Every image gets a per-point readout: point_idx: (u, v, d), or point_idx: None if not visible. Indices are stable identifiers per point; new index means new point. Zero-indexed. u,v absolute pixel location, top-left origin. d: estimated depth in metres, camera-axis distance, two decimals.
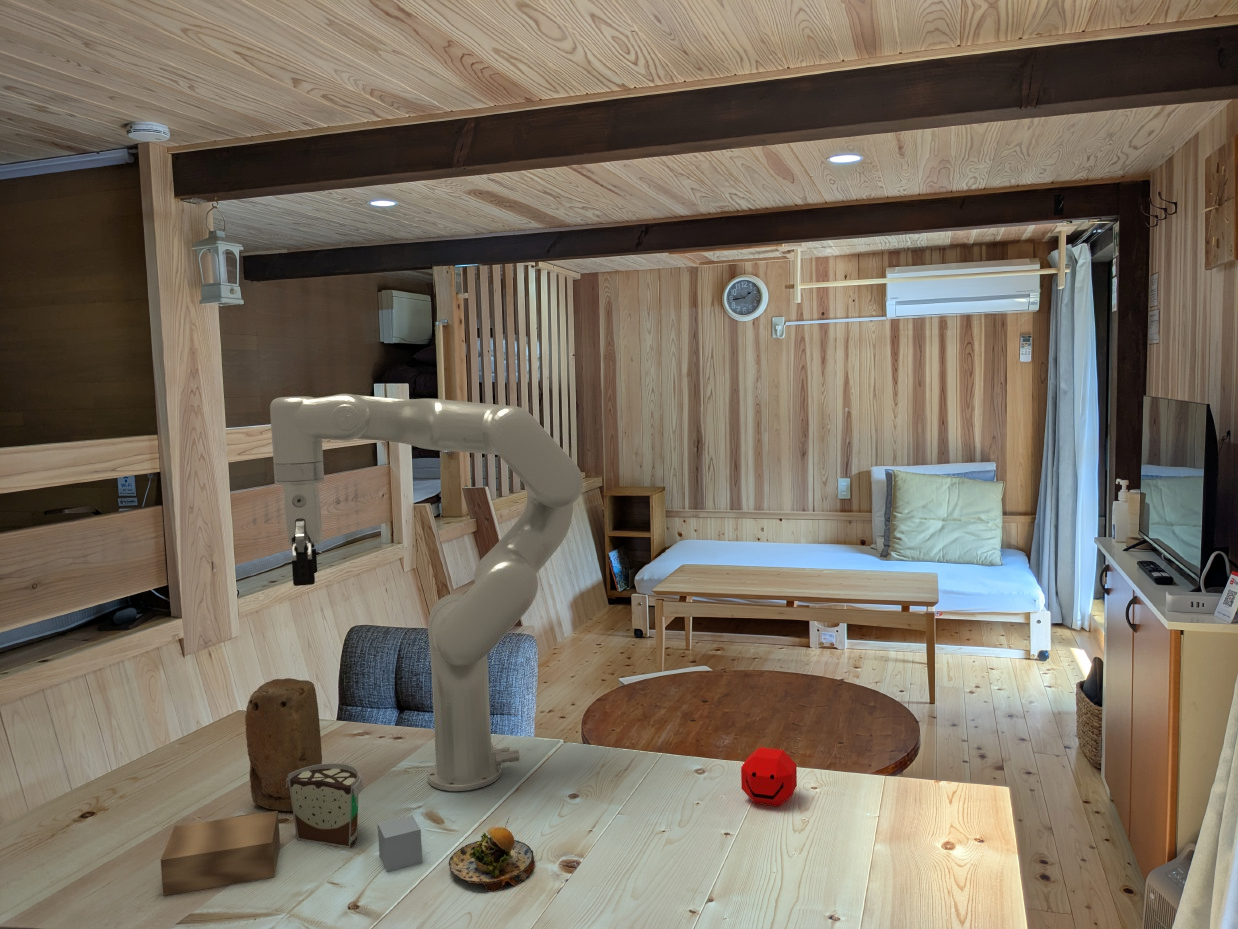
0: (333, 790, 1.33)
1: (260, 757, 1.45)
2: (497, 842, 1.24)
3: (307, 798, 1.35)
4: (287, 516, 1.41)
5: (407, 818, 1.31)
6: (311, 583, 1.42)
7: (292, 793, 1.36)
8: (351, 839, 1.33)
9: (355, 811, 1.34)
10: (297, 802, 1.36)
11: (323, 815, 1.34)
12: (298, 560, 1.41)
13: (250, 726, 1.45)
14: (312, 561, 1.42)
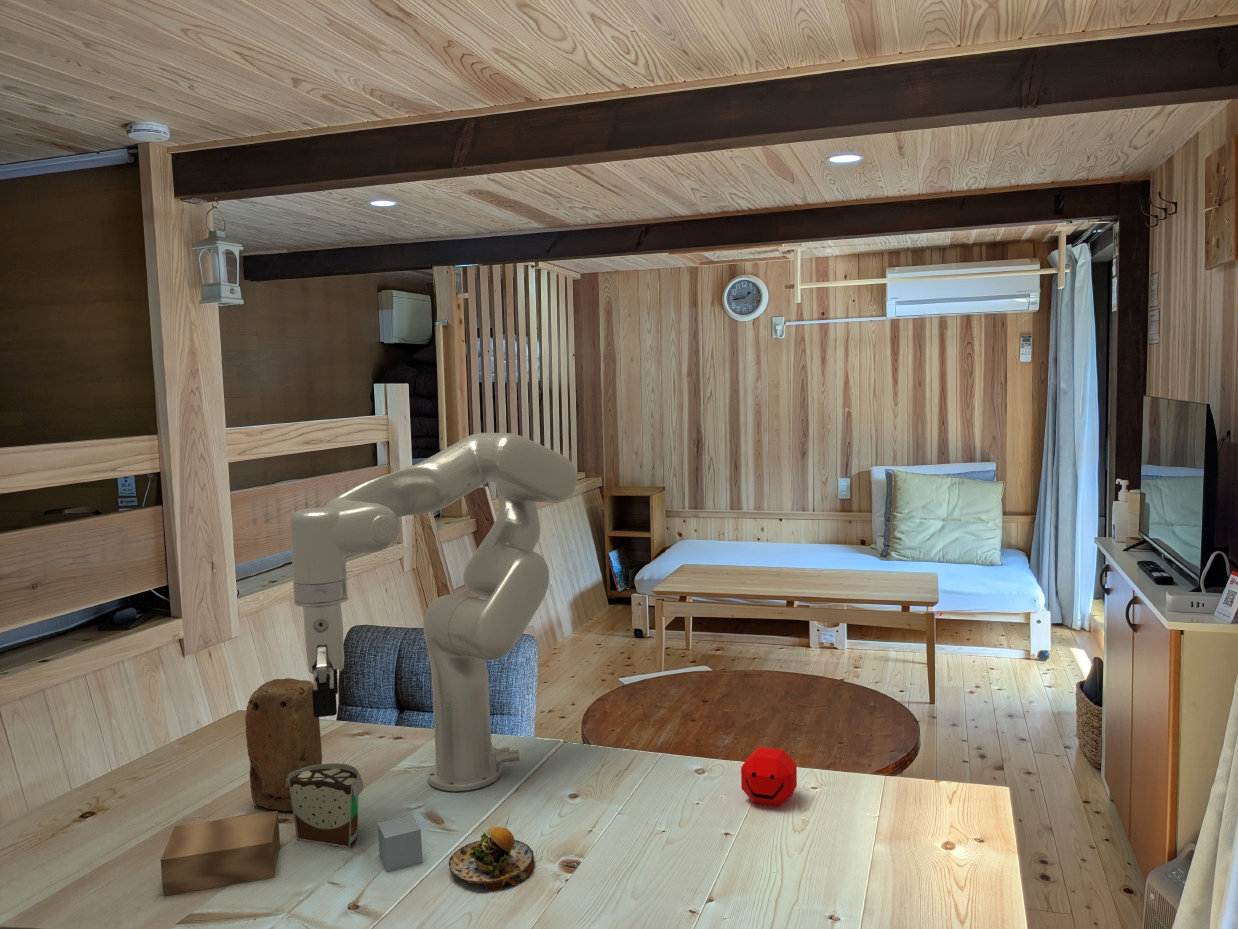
0: (333, 790, 1.33)
1: (260, 757, 1.45)
2: (497, 842, 1.24)
3: (307, 798, 1.35)
4: (308, 642, 1.30)
5: (408, 818, 1.31)
6: (333, 714, 1.31)
7: (292, 793, 1.36)
8: (351, 839, 1.33)
9: (355, 811, 1.34)
10: (297, 802, 1.36)
11: (323, 815, 1.34)
12: (319, 690, 1.29)
13: (250, 726, 1.45)
14: (334, 690, 1.31)
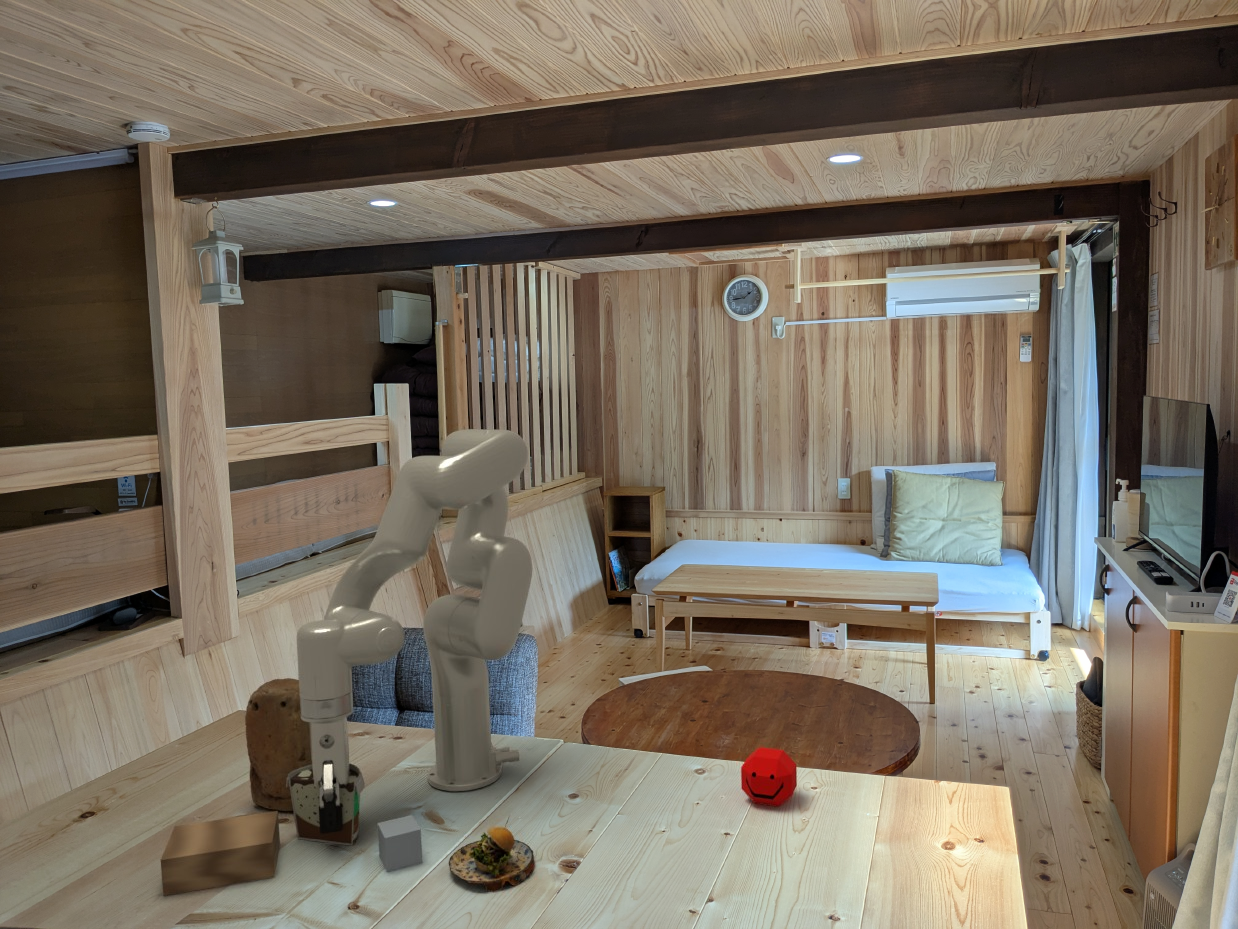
0: (335, 788, 1.34)
1: (260, 757, 1.45)
2: (497, 842, 1.24)
3: (308, 796, 1.35)
4: (314, 758, 1.31)
5: (407, 818, 1.31)
6: (339, 830, 1.33)
7: (292, 792, 1.36)
8: (354, 836, 1.34)
9: (357, 809, 1.34)
10: (298, 801, 1.36)
11: None
12: (326, 808, 1.32)
13: (250, 726, 1.45)
14: (340, 806, 1.33)
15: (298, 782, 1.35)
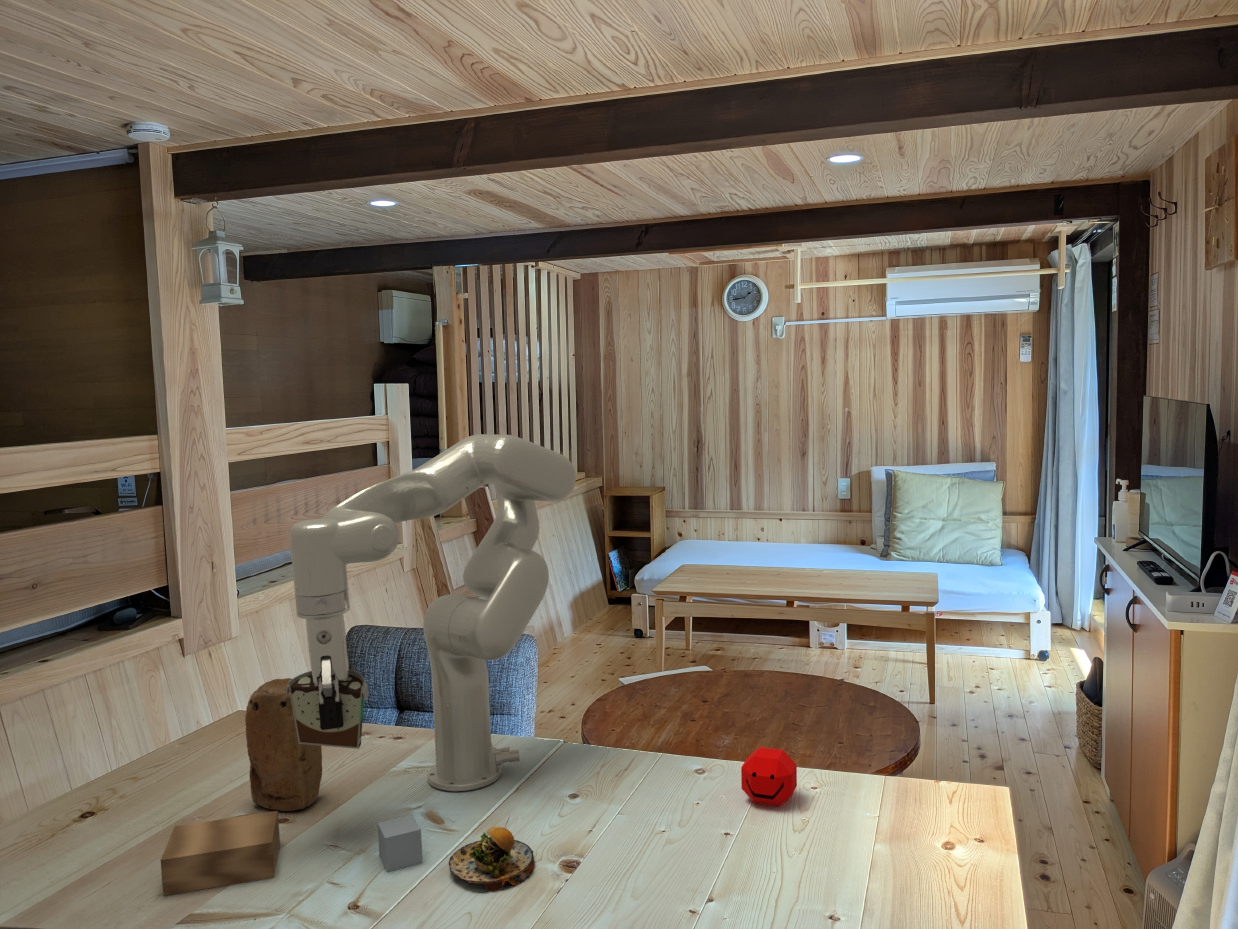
0: (340, 694, 1.33)
1: (260, 757, 1.45)
2: (497, 842, 1.24)
3: (311, 703, 1.34)
4: (311, 654, 1.30)
5: (408, 818, 1.31)
6: (339, 726, 1.33)
7: (293, 699, 1.34)
8: (359, 739, 1.35)
9: (362, 713, 1.35)
10: (299, 708, 1.35)
11: None
12: (325, 704, 1.31)
13: (250, 726, 1.45)
14: (340, 703, 1.33)
15: (299, 689, 1.34)
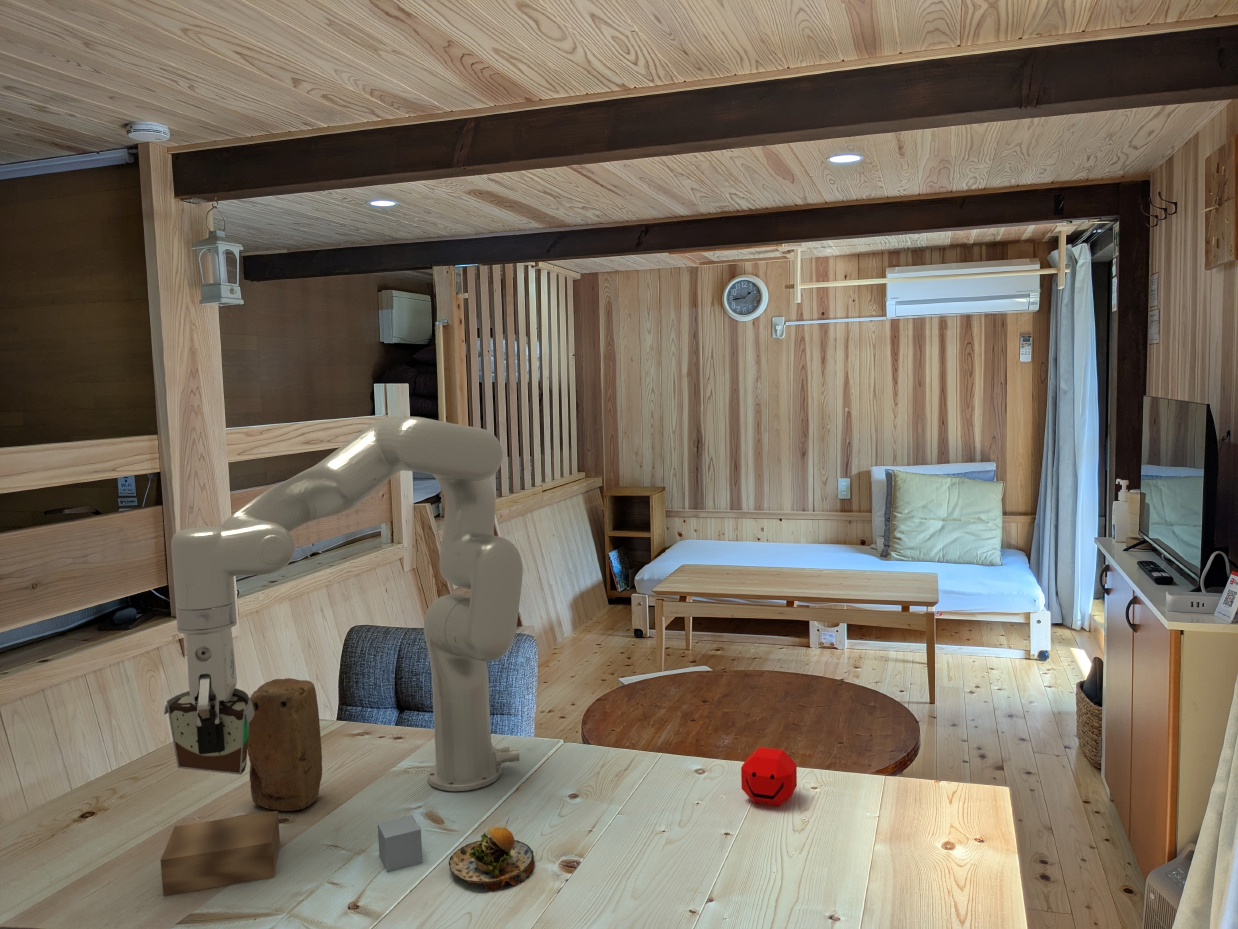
0: (221, 715, 1.24)
1: (260, 757, 1.45)
2: (497, 842, 1.24)
3: (191, 724, 1.25)
4: (189, 672, 1.21)
5: (408, 818, 1.31)
6: (220, 750, 1.24)
7: (172, 720, 1.25)
8: (243, 765, 1.25)
9: (246, 736, 1.25)
10: (178, 729, 1.25)
11: None
12: (204, 726, 1.22)
13: (250, 726, 1.45)
14: (221, 725, 1.23)
15: (178, 709, 1.25)
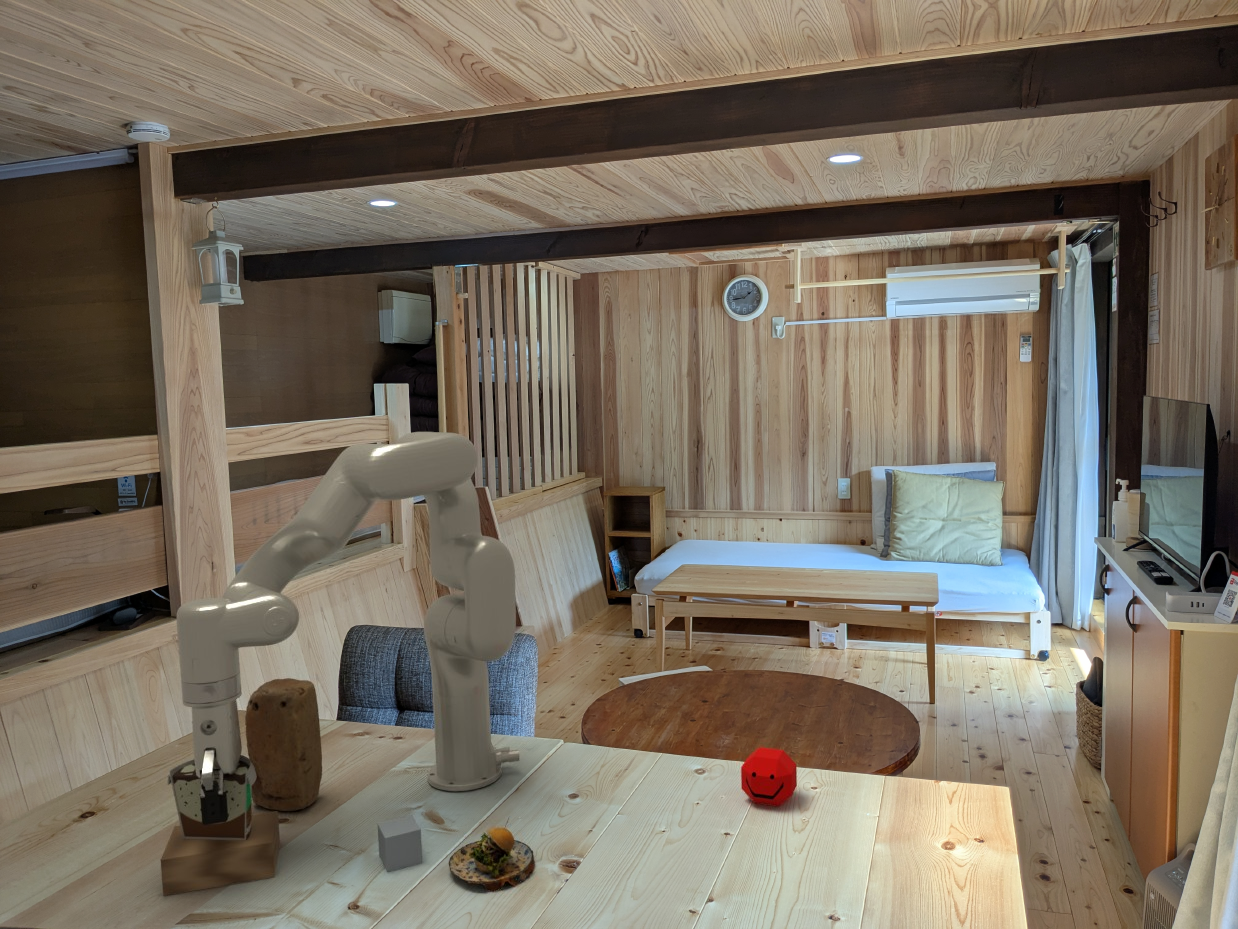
0: (224, 781, 1.25)
1: (260, 757, 1.45)
2: (497, 842, 1.24)
3: (194, 793, 1.26)
4: (195, 745, 1.22)
5: (407, 818, 1.31)
6: (223, 820, 1.23)
7: (175, 790, 1.26)
8: (247, 830, 1.26)
9: (250, 801, 1.27)
10: (182, 799, 1.26)
11: None
12: (207, 797, 1.22)
13: (250, 726, 1.45)
14: (224, 795, 1.23)
15: (181, 778, 1.26)
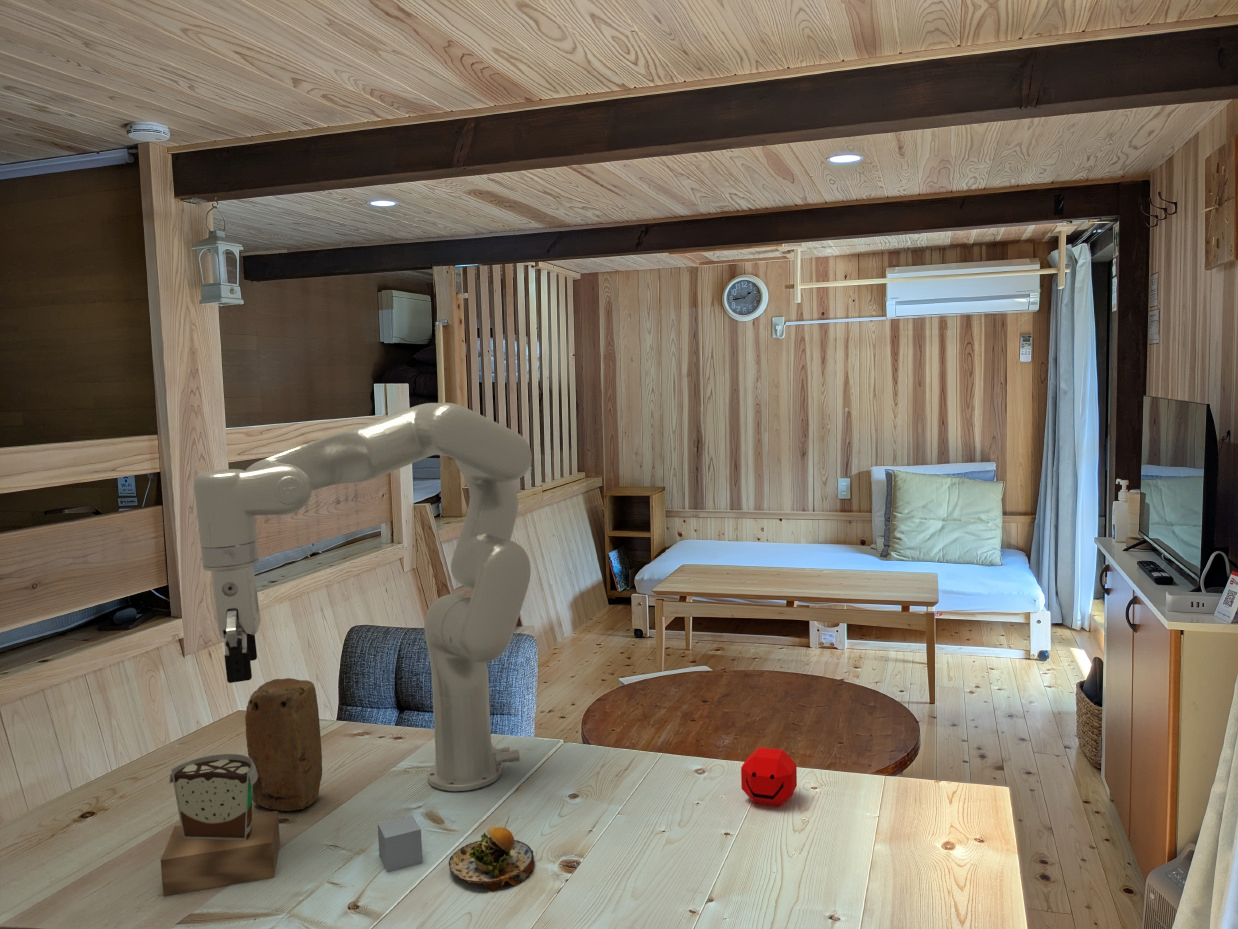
0: (225, 780, 1.26)
1: (260, 757, 1.45)
2: (497, 842, 1.24)
3: (195, 792, 1.26)
4: (217, 606, 1.26)
5: (407, 818, 1.31)
6: (247, 679, 1.28)
7: (177, 789, 1.27)
8: (247, 830, 1.26)
9: (251, 801, 1.27)
10: (183, 798, 1.27)
11: (214, 809, 1.26)
12: (231, 655, 1.26)
13: (250, 726, 1.45)
14: (248, 654, 1.28)
15: (183, 777, 1.26)
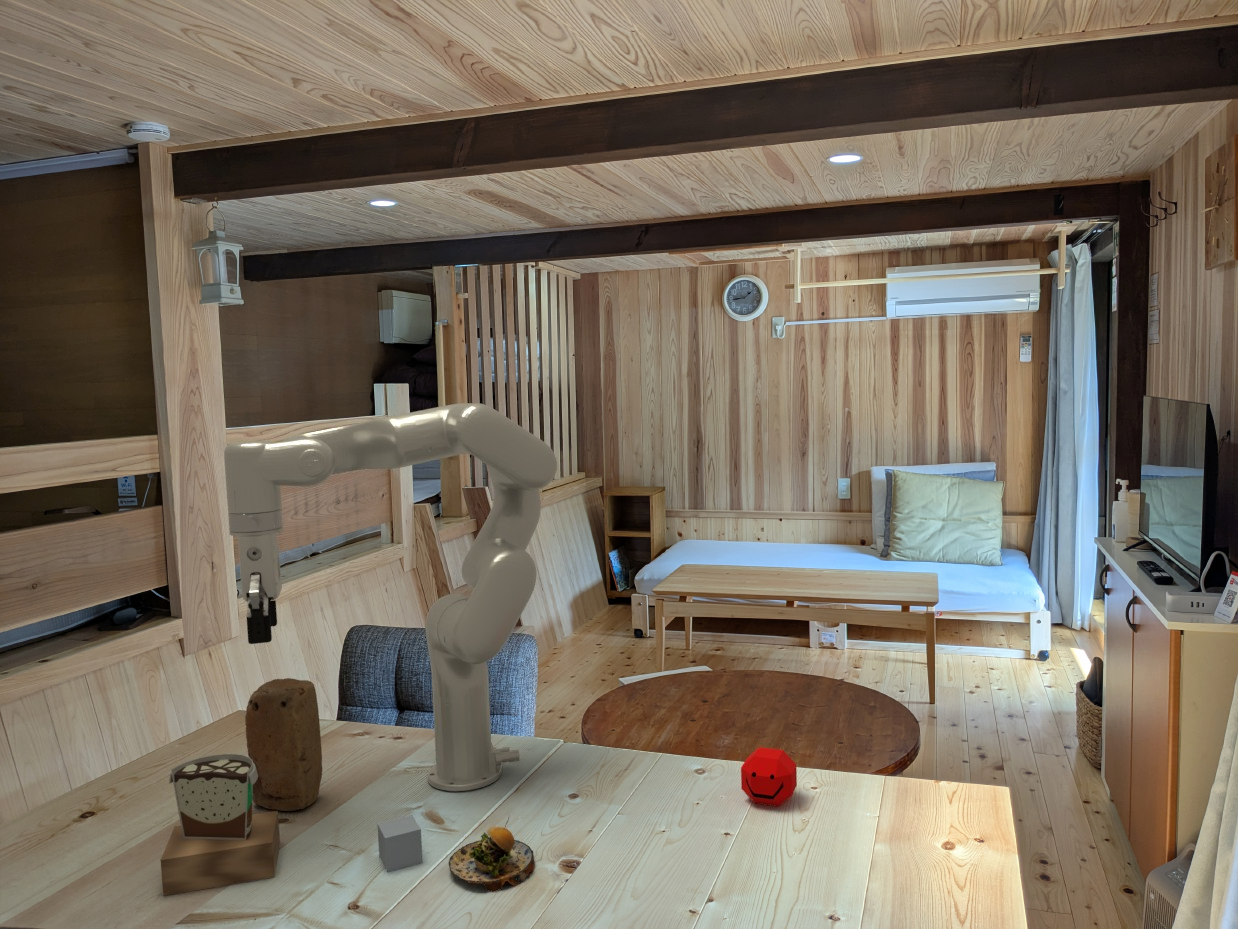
0: (225, 780, 1.26)
1: (260, 757, 1.45)
2: (497, 842, 1.24)
3: (195, 792, 1.26)
4: (241, 570, 1.32)
5: (407, 818, 1.31)
6: (267, 641, 1.34)
7: (177, 789, 1.27)
8: (247, 830, 1.26)
9: (251, 801, 1.27)
10: (183, 798, 1.27)
11: (214, 809, 1.26)
12: (253, 617, 1.32)
13: (250, 726, 1.45)
14: (268, 617, 1.33)
15: (183, 777, 1.27)
